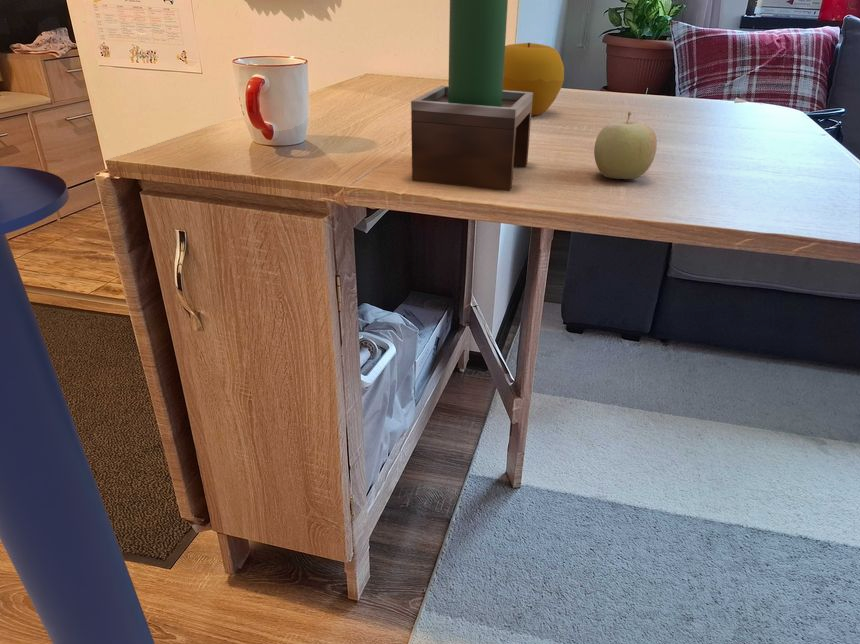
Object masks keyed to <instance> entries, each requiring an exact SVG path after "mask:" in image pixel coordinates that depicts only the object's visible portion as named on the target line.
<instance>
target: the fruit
mask: <svg viewBox="0 0 860 644" xmlns="http://www.w3.org/2000/svg"><path fill="white" fill-rule="evenodd" d="M631 115H632V111H628V112H627V120H621V121H615V122H610V123H608V124H606V125H605V126H604V127H602V128H601V130H600V131H599V133H598V135H597V136H596V140H595V143H594V150H593V153H594V155H593V157H594V161H595V165H596V168H597V169H598V171H599V172H600V173H601V174H602V175H603V176H605V177H606V178H609V179H614V180H615V179H616V180H621V179H622V180H632V179H638V178H641V177H642V176H644V175H645V174H646V172H647V171H648V170H649V169H650V168H651V166H652V164H653V162H654V160H655V156H656V153H657V149H658V147H657V145H658V140H657V136H656V133H655V131H654V129H653V128H652V127H651V126H650V125H649V124H647V123H643V122H640V121H638V120H637V121H636V120H630V117H631Z"/></svg>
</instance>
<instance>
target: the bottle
mask: <svg viewBox="0 0 860 644" xmlns="http://www.w3.org/2000/svg"><path fill="white" fill-rule="evenodd" d="M508 2H509V0H449V26H448V27H449V28H448V29H449V30H448V31H449V32H448V85H447V86H448V103H459V104H471V105H484V106H496V107H501V106H502V92H503V75H504V57H505V46H506V41H507V39H506V38H507V20H508V5H509V4H508Z"/></svg>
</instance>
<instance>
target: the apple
mask: <svg viewBox="0 0 860 644" xmlns="http://www.w3.org/2000/svg"><path fill="white" fill-rule="evenodd" d="M564 80H565V66H564V63H563V60H562V57H561V54H560V53H559V52H558V51H557V49H556V48H555V47H551V46H549V45H546V44H540V43H536V42H535V43H534V42H522V43H511V44H506V45H505V57H504V75H503V90H507V91H520V92H533V100H532V113H531V117H532V116H538V115H539V116H540V115H542V114H544V113H546V112H547V111H548V110H549V108H550V107H551V106H552V104H554V102H555V100H556V99H557V97H558V95H559V93H560V91H561V89H562V88H563V84H564Z"/></svg>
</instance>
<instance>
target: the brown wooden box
mask: <svg viewBox="0 0 860 644" xmlns="http://www.w3.org/2000/svg"><path fill="white" fill-rule="evenodd" d="M532 100H533V92H520V91H507V90H503V92H502V106H501V107H496V106H484V105H471V104H459V103H448V85H439V86H438V87H435V88H433V89H432V90H430V91H428V92H426V93H424V94H421V95H420V96H418V97H416V98H414V99H412V100H411V101H410V111H411V112H410V116H411V117H410V121H411V123H410V125H411V127H410V128H411V129H410V130H411V133H410V134H411V181H416V182H425V183H436V184H443V185H453V186H463V187H472V188H481V189H492V190H500V191H510V192H511V190H512V188H513V181H514V180H513V178H514V167H520V168H526V167H527V166H528V162H529V161H528V160H529V150H530V149H529V147H530V137H531V125H532V124H531V123H532V116H531V113H532Z"/></svg>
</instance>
